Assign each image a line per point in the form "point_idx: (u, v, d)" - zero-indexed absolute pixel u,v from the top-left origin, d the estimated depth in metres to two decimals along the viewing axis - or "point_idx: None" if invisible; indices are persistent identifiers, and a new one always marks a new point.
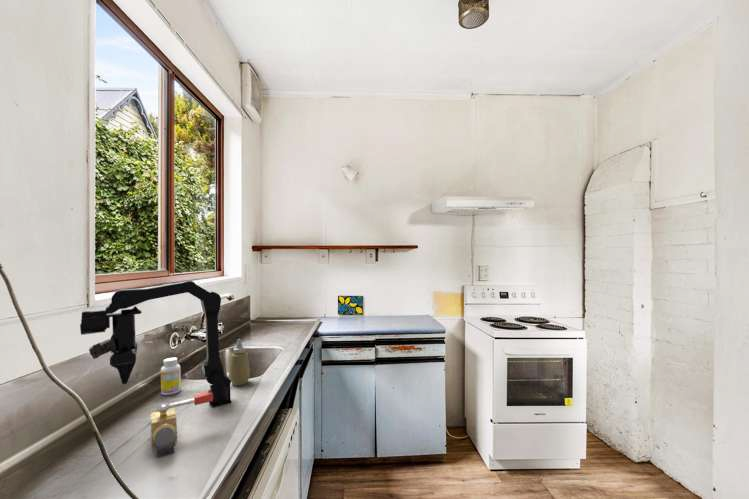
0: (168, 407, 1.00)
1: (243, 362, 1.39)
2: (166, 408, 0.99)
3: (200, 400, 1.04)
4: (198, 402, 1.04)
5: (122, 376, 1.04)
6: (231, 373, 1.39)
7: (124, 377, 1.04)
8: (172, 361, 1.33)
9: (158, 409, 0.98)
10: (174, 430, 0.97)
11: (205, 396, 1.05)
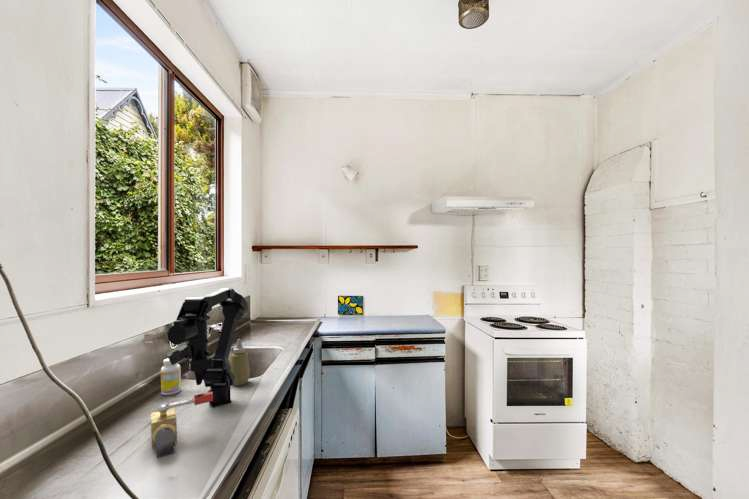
0: (168, 407, 1.00)
1: (243, 362, 1.39)
2: (166, 408, 0.99)
3: (200, 400, 1.04)
4: (198, 402, 1.04)
5: (197, 377, 1.10)
6: None
7: (199, 378, 1.10)
8: None
9: (158, 409, 0.98)
10: (174, 430, 0.97)
11: (205, 396, 1.05)
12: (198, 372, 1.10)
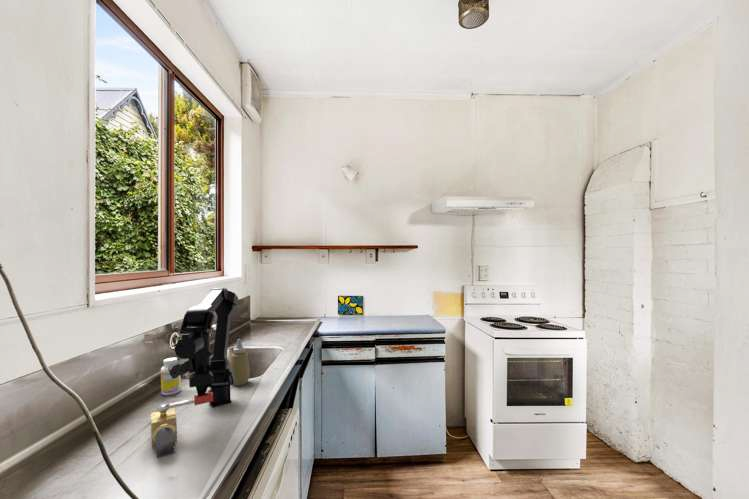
0: (168, 407, 0.99)
1: (243, 362, 1.39)
2: (166, 408, 0.99)
3: (200, 400, 1.04)
4: (198, 402, 1.04)
5: (199, 391, 1.06)
6: None
7: (201, 393, 1.06)
8: (172, 361, 1.33)
9: (158, 409, 0.98)
10: (174, 430, 0.97)
11: (205, 396, 1.05)
12: (200, 386, 1.06)
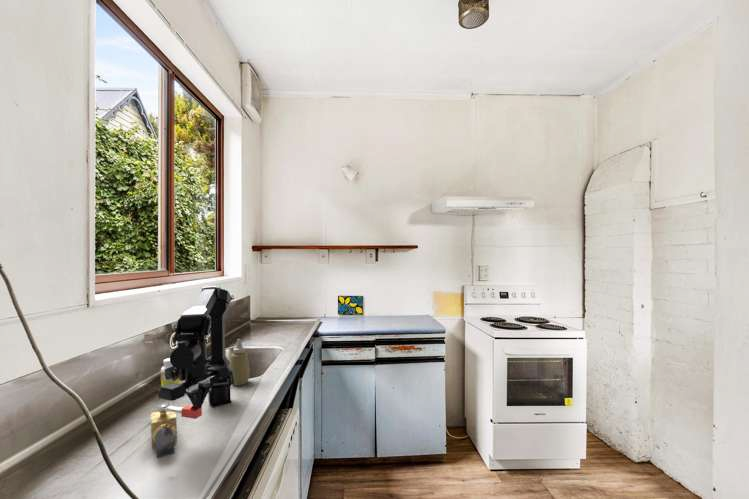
0: (163, 409, 0.98)
1: (243, 361, 1.39)
2: (161, 409, 0.98)
3: (185, 413, 0.96)
4: (184, 414, 0.96)
5: (193, 402, 0.98)
6: None
7: (194, 405, 0.98)
8: None
9: None
10: (174, 430, 0.97)
11: (189, 411, 0.95)
12: (192, 397, 0.98)
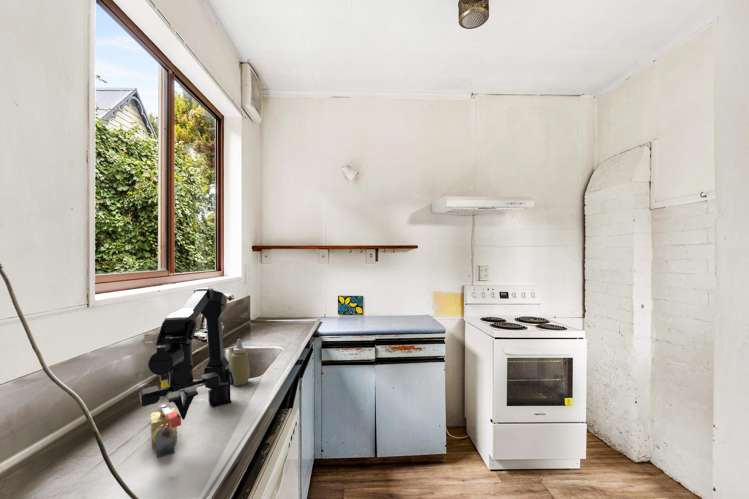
0: (160, 409, 0.98)
1: (243, 362, 1.39)
2: (158, 409, 0.98)
3: (167, 419, 0.92)
4: (167, 420, 0.92)
5: (178, 409, 0.94)
6: None
7: (179, 412, 0.94)
8: None
9: None
10: (174, 430, 0.97)
11: (169, 418, 0.91)
12: None
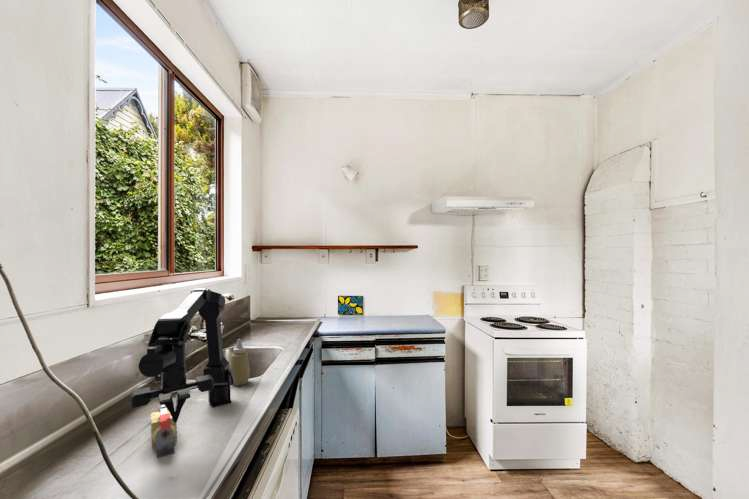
0: (159, 409, 0.98)
1: (243, 362, 1.39)
2: (158, 409, 0.98)
3: None
4: None
5: None
6: None
7: None
8: None
9: None
10: (174, 430, 0.97)
11: (160, 420, 0.90)
12: None
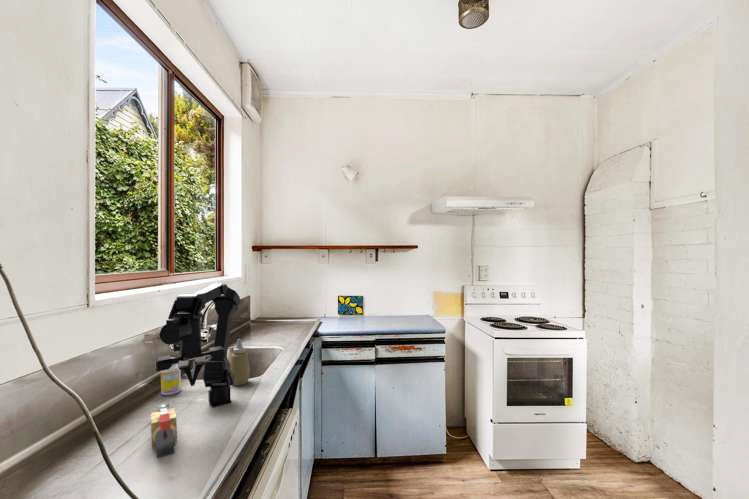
0: (159, 409, 0.98)
1: (243, 362, 1.39)
2: (157, 409, 0.98)
3: None
4: None
5: None
6: None
7: None
8: None
9: None
10: (174, 430, 0.97)
11: (160, 420, 0.90)
12: None
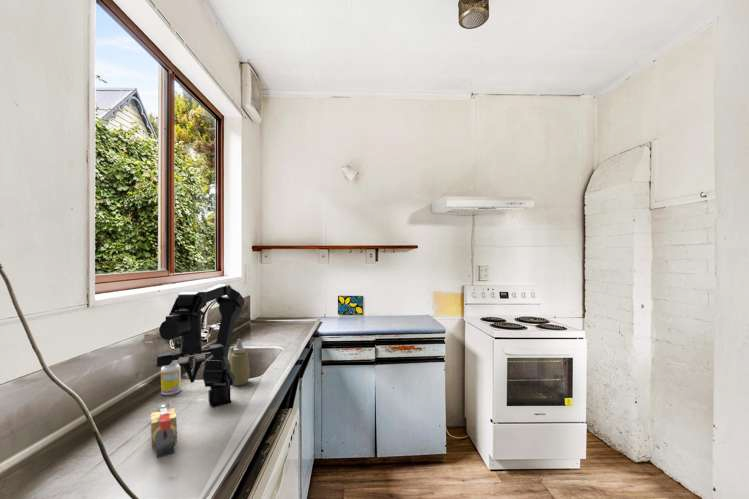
0: (159, 409, 0.98)
1: (243, 362, 1.39)
2: (157, 409, 0.98)
3: None
4: None
5: None
6: None
7: None
8: (172, 361, 1.33)
9: None
10: (174, 430, 0.97)
11: (160, 420, 0.90)
12: None
